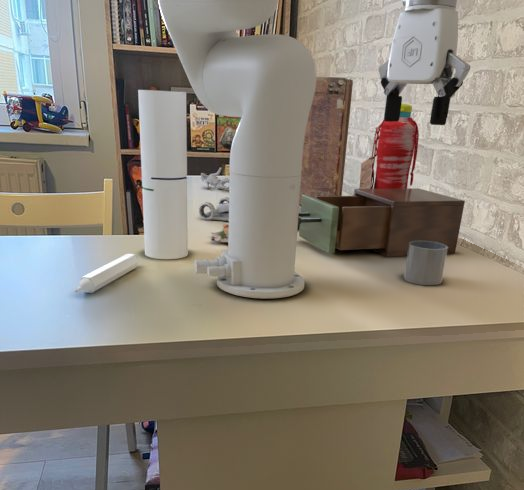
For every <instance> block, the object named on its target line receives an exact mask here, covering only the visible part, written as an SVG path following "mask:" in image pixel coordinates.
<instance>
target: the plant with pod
mask: <svg viewBox="0 0 524 490" xmlns="http://www.w3.org/2000/svg"><path fill="white" fill-rule="evenodd" d="M236 131H237V130H235V129H233V128H232V127H230V126H227V127H226V128H225V129H224V131H223V133H222V134H221V136H220V138H219V141H218V142H219V143H220V145H219V146H218V148H217V149H216V150H217V152H220V151H221V149H224V150H225V149H227V150H229V151H230V152H231V146H232V142H233V139H234V136H235V133H236ZM222 228H223V229H222V230H219V231H216V232H211V233H210V234H211V241H213V242H217V243H228V236H229V223H223V225H222Z"/></svg>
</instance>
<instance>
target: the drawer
mask: <svg viewBox="0 0 524 490" xmlns="http://www.w3.org/2000/svg"><path fill="white" fill-rule="evenodd" d="M300 208H301V213H299V215H298V226H299V227H298V229H299V230H298V237H300V238H301V239H303V240H305V241H307V242H309V243H310V244H312V245H313V246H316V247H317V248H319V249H320V250H322V251H324V252H325V253H327V254H335V253H336V249H337V250H339V251H350V250H351V251H353V250H355V251H356V250H372V249H378V248H386V241H387V233H388V226H389V219H390V211H391V205H388V204H385V203H382V202H379V201H376V200H374V199H371V198H368V197H365V196H354V195H342V196H315V197H312V196H310V195H307V194H304V195H302V200H301V206H300Z"/></svg>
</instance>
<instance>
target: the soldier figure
mask: <svg viewBox="0 0 524 490" xmlns="http://www.w3.org/2000/svg"><path fill="white" fill-rule="evenodd" d="M222 169H223V167H219V169H218V170H217V172H215V173H210V174H208V175H207V174H206V173H205V172H201V173H200V179H201V181H202V182H204V183H205V189H209V187H210V186H212V187H214V188H215V189H218V190H219V189H222V190H228V191H229V186H226V185H225V184H227V183H228V184H230V178H229V177H223V178H222V179H220V178H219V177H218V176H219V175H220V173H221V172H222Z"/></svg>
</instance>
